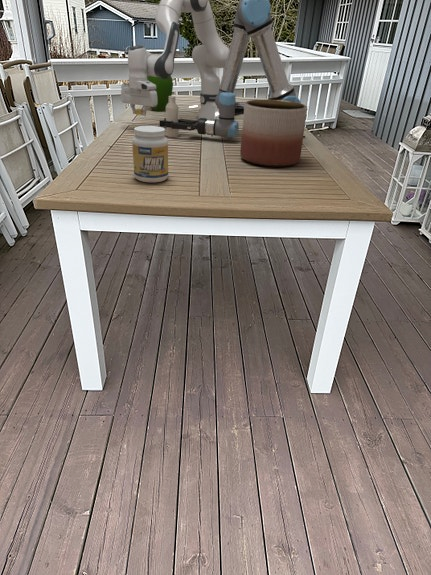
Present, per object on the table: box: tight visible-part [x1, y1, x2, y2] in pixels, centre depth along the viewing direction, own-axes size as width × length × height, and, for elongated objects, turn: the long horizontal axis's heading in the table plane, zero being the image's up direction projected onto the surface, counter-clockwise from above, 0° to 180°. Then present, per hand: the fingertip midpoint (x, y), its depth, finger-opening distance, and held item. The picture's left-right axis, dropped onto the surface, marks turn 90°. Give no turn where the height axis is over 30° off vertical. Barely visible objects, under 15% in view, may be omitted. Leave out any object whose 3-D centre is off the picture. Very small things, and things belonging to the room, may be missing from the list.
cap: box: [134, 108, 144, 116], centre depth 206 cm, size 4×4×2 cm
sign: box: [235, 101, 246, 114], centre depth 284 cm, size 19×3×30 cm
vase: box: [147, 75, 174, 112], centre depth 261 cm, size 20×20×24 cm
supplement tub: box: [131, 125, 169, 183], centre depth 142 cm, size 12×12×17 cm
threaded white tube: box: [165, 95, 179, 138], centre depth 201 cm, size 6×6×18 cm
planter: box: [240, 99, 308, 168], centre depth 169 cm, size 25×25×22 cm
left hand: (139, 114), depth 207 cm, fingers closed on cap, 4 cm apart
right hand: (162, 122), depth 204 cm, fingers closed on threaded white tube, 6 cm apart
